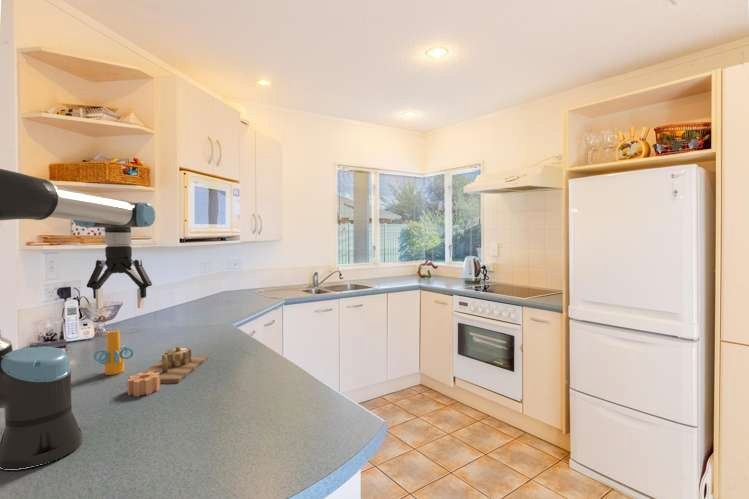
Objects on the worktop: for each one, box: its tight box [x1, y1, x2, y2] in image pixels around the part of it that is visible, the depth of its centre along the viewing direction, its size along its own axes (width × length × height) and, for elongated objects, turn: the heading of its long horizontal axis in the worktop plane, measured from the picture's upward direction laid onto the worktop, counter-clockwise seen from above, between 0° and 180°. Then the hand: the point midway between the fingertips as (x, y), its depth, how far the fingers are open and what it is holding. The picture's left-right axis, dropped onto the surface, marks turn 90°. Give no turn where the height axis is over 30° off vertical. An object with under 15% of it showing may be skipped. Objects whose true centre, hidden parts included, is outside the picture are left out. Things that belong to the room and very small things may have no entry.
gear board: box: [141, 345, 208, 384], centre depth 144 cm, size 24×16×7 cm, turn 1°
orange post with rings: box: [93, 329, 134, 376], centre depth 142 cm, size 12×10×15 cm
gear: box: [126, 372, 161, 397], centre depth 126 cm, size 9×9×4 cm
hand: (120, 307), depth 135 cm, fingers open, 13 cm apart
